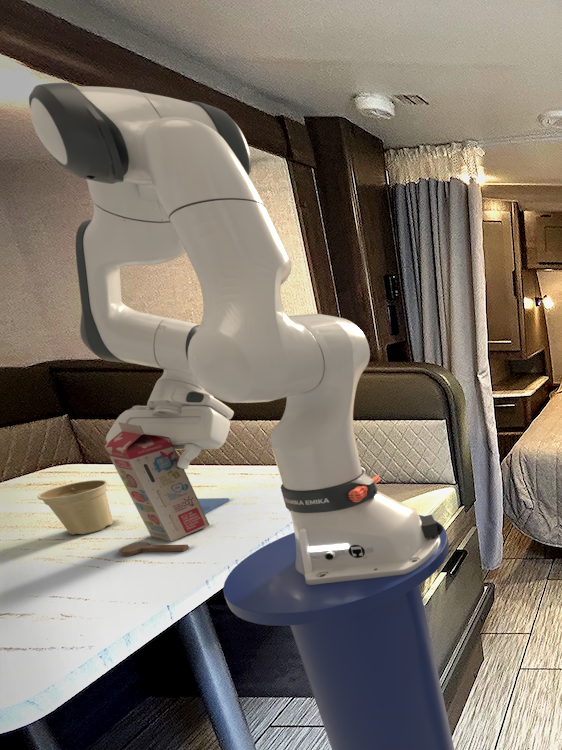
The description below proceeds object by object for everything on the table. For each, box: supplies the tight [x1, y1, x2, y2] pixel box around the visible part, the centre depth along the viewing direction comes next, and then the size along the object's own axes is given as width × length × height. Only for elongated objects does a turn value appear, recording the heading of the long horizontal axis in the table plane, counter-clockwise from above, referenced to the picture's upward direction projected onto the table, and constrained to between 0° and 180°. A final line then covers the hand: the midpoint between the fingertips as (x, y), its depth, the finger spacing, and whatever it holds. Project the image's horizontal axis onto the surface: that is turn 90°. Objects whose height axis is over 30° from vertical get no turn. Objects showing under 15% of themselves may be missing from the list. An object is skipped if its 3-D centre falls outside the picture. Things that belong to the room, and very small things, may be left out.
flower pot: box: [37, 479, 114, 535], centre depth 99 cm, size 9×9×9 cm
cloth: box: [197, 497, 230, 515], centre depth 109 cm, size 8×8×1 cm
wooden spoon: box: [118, 541, 190, 557], centre depth 91 cm, size 12×4×1 cm, turn 90°
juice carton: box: [104, 422, 210, 543], centre depth 94 cm, size 7×7×22 cm
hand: (154, 468), depth 93 cm, fingers open, 8 cm apart
